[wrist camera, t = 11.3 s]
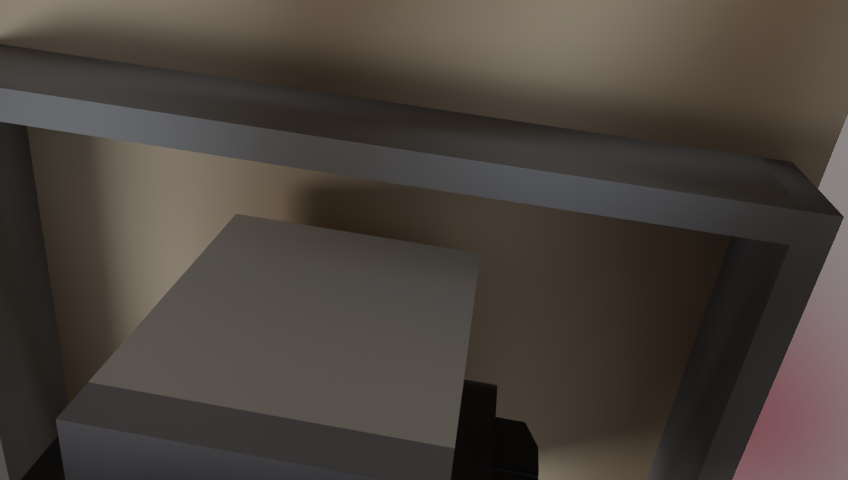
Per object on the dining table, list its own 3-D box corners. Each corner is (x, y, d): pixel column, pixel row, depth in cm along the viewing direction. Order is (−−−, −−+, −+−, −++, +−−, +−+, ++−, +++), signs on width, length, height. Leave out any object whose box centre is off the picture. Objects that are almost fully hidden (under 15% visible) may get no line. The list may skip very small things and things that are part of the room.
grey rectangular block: (480, 253, 11) (448, 492, 7) (438, 501, 14) (395, 791, 9) (236, 214, 12) (55, 419, 7) (238, 463, 14) (106, 729, 10)
